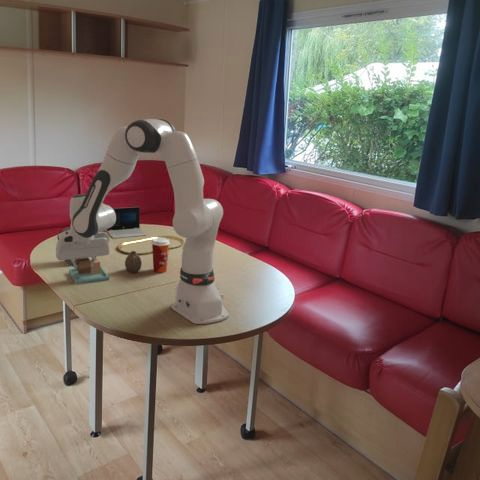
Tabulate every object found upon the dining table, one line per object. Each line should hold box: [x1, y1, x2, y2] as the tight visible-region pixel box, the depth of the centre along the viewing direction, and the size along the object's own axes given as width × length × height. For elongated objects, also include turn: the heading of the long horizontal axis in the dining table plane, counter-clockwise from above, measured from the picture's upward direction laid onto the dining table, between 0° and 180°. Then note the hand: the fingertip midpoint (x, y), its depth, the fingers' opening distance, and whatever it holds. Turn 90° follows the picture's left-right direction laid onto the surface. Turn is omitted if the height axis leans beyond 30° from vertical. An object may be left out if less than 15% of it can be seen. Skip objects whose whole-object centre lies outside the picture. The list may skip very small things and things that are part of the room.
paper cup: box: [150, 238, 171, 274], centre depth 206 cm, size 8×8×14 cm
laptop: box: [106, 206, 148, 239], centre depth 254 cm, size 18×12×13 cm
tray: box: [68, 265, 110, 285], centre depth 197 cm, size 13×13×2 cm
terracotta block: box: [89, 258, 101, 275], centre depth 199 cm, size 4×4×5 cm
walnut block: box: [76, 257, 91, 274], centre depth 192 cm, size 4×4×5 cm
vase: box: [124, 250, 143, 274], centre depth 204 cm, size 7×7×9 cm
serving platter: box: [117, 235, 185, 256], centre depth 239 cm, size 19×35×2 cm, turn 134°
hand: (83, 267), depth 192 cm, fingers closed on walnut block, 4 cm apart
